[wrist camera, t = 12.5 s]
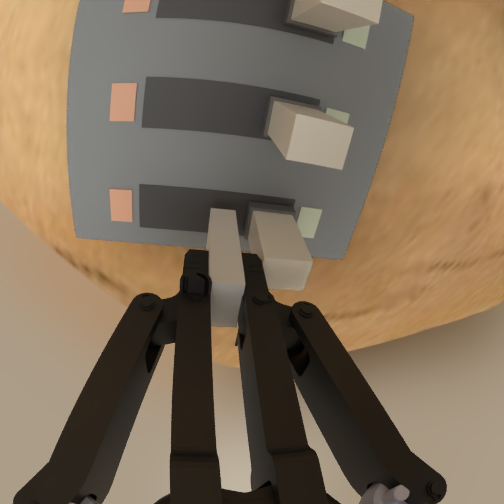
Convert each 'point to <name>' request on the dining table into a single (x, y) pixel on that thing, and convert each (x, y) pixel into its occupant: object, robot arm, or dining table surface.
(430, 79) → the dining table surface
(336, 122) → the breaker
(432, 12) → the dining table surface
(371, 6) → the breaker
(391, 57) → the panel
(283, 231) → the breaker
